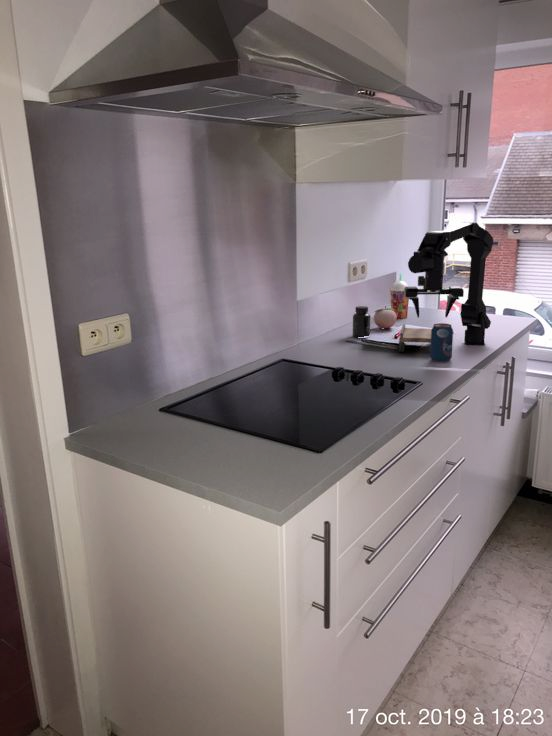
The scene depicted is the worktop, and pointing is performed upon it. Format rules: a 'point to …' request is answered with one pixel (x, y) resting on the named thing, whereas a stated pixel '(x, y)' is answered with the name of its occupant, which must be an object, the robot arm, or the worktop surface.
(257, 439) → the worktop surface
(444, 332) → the soda can
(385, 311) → the decorative fruit
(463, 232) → the robot arm
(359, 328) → the supplement bottle
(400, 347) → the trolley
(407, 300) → the smoothie
